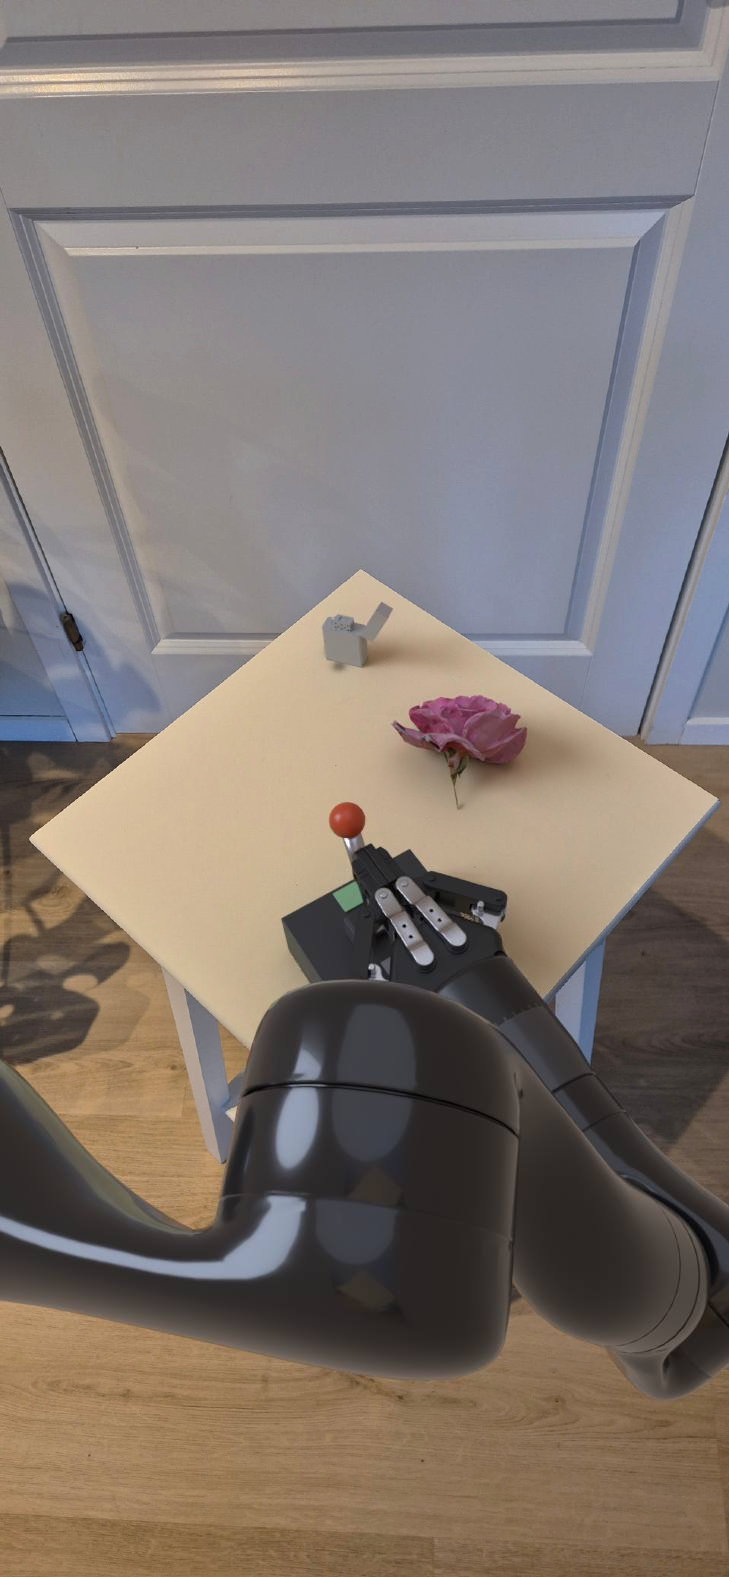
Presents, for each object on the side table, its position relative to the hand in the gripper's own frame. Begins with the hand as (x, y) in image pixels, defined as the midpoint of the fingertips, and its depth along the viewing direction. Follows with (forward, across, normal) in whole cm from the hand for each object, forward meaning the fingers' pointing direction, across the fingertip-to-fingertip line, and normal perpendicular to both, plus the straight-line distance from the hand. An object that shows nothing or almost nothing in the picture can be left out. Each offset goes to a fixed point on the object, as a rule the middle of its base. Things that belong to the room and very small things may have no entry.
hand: (361, 854), depth 72 cm
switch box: (-2, 0, +13) cm, 13 cm away
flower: (+12, -17, +14) cm, 25 cm away
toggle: (-2, 0, +8) cm, 8 cm away
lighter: (+28, -16, +14) cm, 35 cm away
